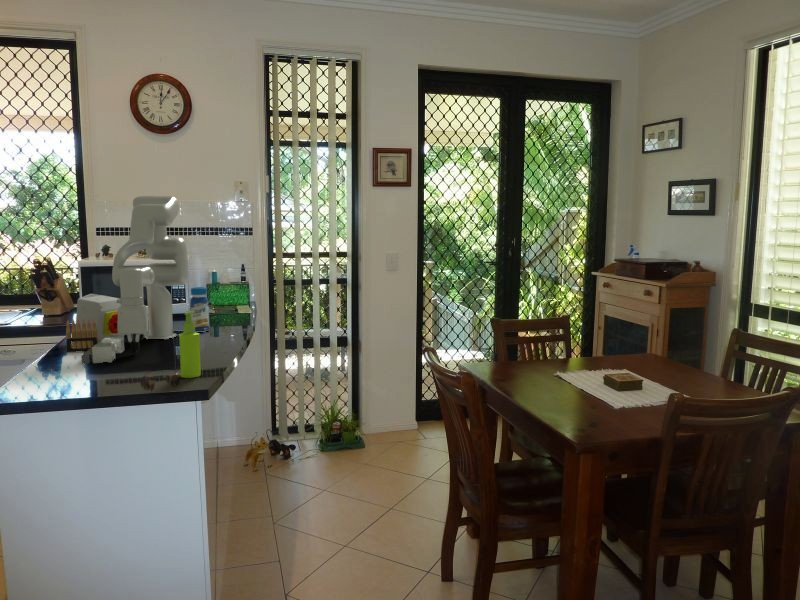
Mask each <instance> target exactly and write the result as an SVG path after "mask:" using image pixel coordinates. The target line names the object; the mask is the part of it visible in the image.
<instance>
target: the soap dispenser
mask: <svg viewBox="0 0 800 600" xmlns="http://www.w3.org/2000/svg"><path fill="white" fill-rule="evenodd" d="M193 313H195V311H190V310H186V311H185V312H184V313H183V315H185V321H184V322H183V323H182V324H183V325H182V326H183V332H181V333H180V334H179V335H178V337H179V360H180V361H179V362H180V365H179V366H180V377H181V378H183V379H185V378H186V379H188V378H189V379H191V378H193V379H194V378H197V377H200V376H202V374H201V373H202V371H201V370H202V369H201V343H200V341H201V340H200V333H196V332H195V322H193V321H192V314H193Z"/></svg>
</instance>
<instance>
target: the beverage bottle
mask: <svg viewBox="0 0 800 600" xmlns="http://www.w3.org/2000/svg"><path fill="white" fill-rule="evenodd" d="M207 293H208V289H207V287H205V286H196V287H191V288H190V295H191V296H192V297H191V298H190V301H189V305H190V307H189V311H195V313H193V314H192V321H193V322H195V331H205V330H209V329H210V330H211V328H210V306H209V303H210V302H209V299H208V297H207V296H206V295H207Z"/></svg>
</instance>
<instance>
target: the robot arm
mask: <svg viewBox="0 0 800 600" xmlns="http://www.w3.org/2000/svg"><path fill="white" fill-rule="evenodd" d="M178 201H179V200H178V198H176V197H175V196H171V195H140V196H136V197H134V198H133V200H132V207H133V208H132V211H131V221H130V230H129V239H128V240H127V242H125V243H124V244H123V245H122V246H121V247H120V248H119V249H118V251H117V253H116V254H115V256H114V258H113V263H112V275H111V278H112V282H113V284H114V285H115V286H117V287H120V297H119V299H117V303H120V304H121V306H120V307H119V309H118V325H117V328H118V337H123V338H124V340H127V341H128V343H129V350H130V351H131V354H137V353H139V351H140V341H141V340H142V338H146V340H148V339H164V340H170V339H169V338H172V339H175V338H174V337H176V336H177V337H178V334H177V333H174V328H173V327H174V326H173V323H174V322H173V305H172V303H173V300H172V294H171V292H170V291H169V290H168V289H167V287H171V286H172V287H174V286H175V287H177V286H178V287H179V286H181V287H182V286H185V285H187V283H188V281H189V263H188V262H189V261H188V247H187V244H186V241H185V240H184V238H182V237H179V236H174V237H173V236H171V237H169V236H168V231H167V227H168V226H171V224H173V222H174V220H175V219H176V217H177V216H178V214H179V210H180V205H179V202H178ZM143 251H146V256H147V257H148V259H149V260H153V261H173V262H171V263H170V262H169V263H168V262H160V263H159V262H154V263H150V264H148V265H146V266H145V265H144V266H143V265H142V266H136V265H134V266H130V265H126V266H124V265H125V263H126V261H127V260H128V259H129V258H130V257H132V256H133V255H135V254H137V253H139V252H143ZM144 287H146V295H147V298H146V299H147V300H146V301H147V306H146V305H145V301H144V298H145V297H144V296H145V294H144ZM133 335H135V339H134V336H133ZM177 337H176V338H177Z"/></svg>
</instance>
